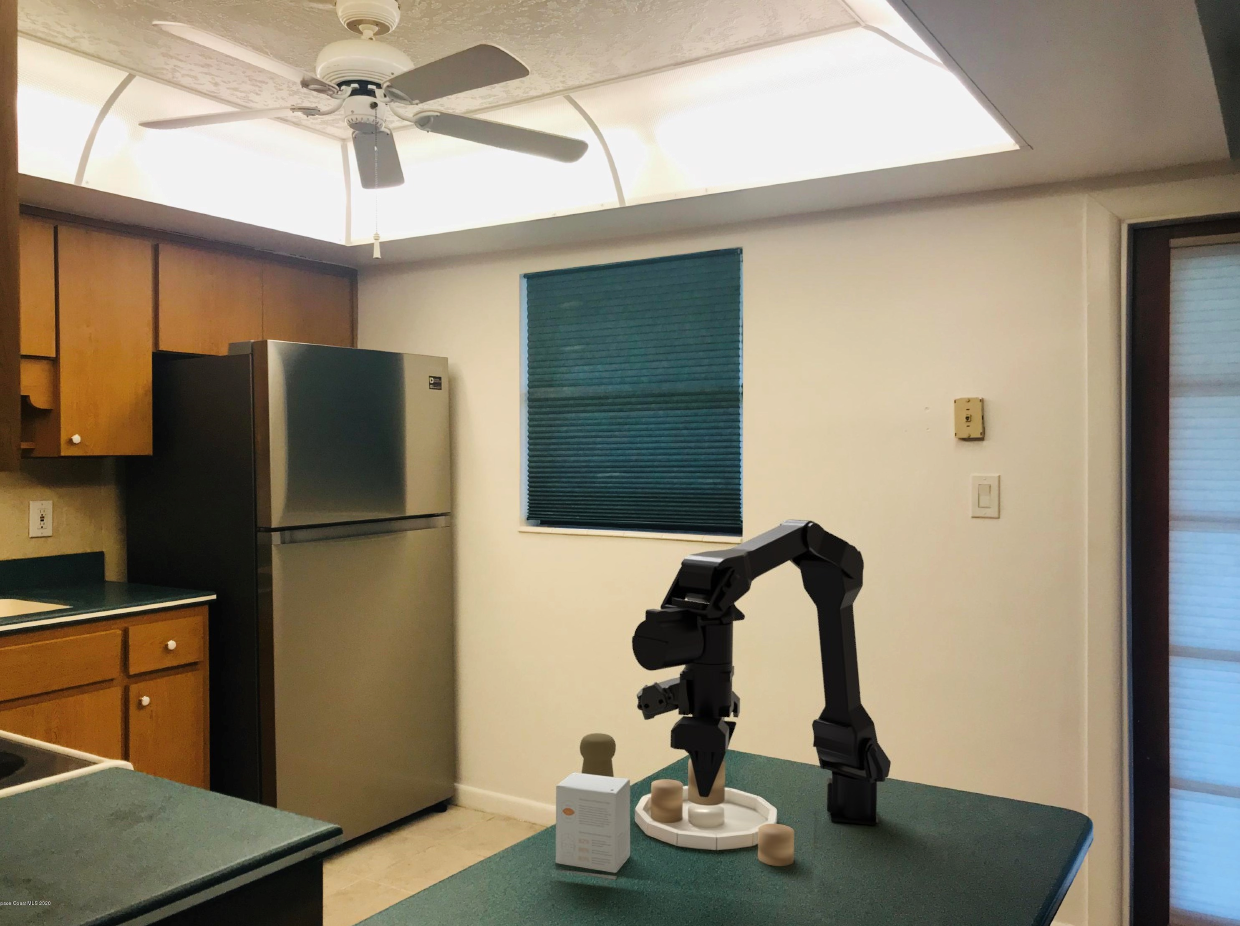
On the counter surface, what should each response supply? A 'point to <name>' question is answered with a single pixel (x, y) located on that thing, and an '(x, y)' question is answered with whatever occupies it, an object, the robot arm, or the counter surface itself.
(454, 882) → the counter surface
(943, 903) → the counter surface
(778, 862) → the bead
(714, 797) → the tan rounded piece
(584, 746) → the cork
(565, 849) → the small box
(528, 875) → the counter surface
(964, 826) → the counter surface
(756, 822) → the tray
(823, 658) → the robot arm
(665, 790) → the bead
